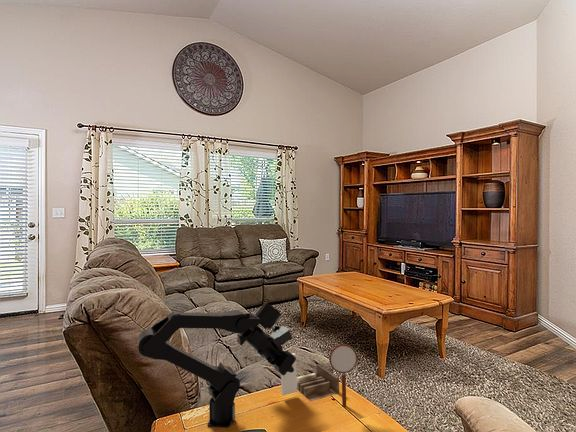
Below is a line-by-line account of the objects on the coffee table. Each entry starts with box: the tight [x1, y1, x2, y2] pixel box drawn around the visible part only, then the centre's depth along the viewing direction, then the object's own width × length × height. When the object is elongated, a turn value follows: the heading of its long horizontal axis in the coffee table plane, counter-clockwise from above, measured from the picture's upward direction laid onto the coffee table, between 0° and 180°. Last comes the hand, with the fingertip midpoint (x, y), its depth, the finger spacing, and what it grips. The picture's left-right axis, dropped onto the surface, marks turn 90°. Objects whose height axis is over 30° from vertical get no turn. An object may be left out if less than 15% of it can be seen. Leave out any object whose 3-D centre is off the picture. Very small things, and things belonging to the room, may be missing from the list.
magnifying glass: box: [329, 343, 358, 408], centre depth 104 cm, size 9×2×20 cm, turn 94°
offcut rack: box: [297, 363, 340, 402], centre depth 115 cm, size 11×13×6 cm
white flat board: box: [280, 352, 298, 396], centre depth 110 cm, size 5×1×12 cm, turn 116°
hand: (292, 370), depth 110 cm, fingers closed on white flat board, 1 cm apart
